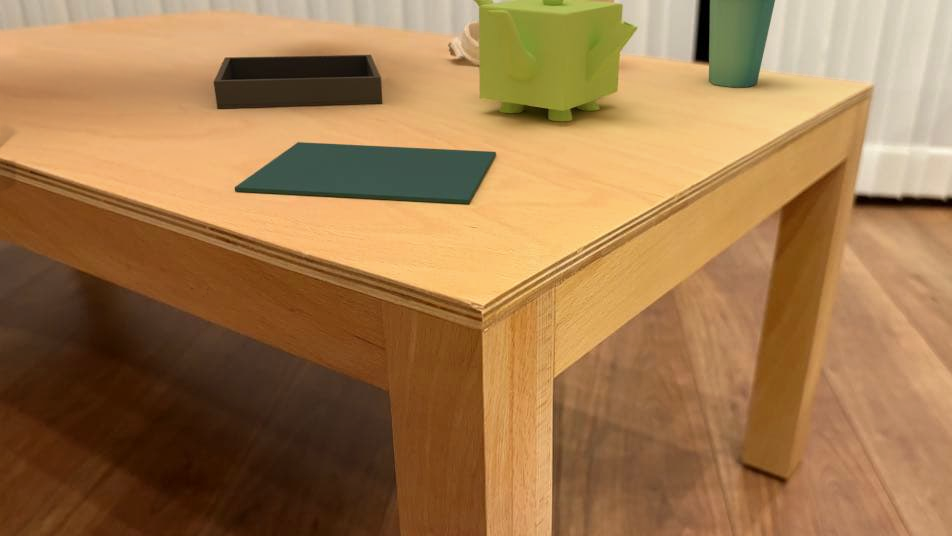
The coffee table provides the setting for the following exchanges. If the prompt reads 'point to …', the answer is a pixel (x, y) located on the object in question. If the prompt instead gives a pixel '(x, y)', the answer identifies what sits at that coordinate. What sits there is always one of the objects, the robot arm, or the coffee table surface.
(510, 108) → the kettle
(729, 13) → the cup
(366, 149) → the cloth mat
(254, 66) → the enamel tray
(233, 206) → the coffee table surface
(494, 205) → the coffee table surface
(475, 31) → the seashell
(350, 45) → the coffee table surface
